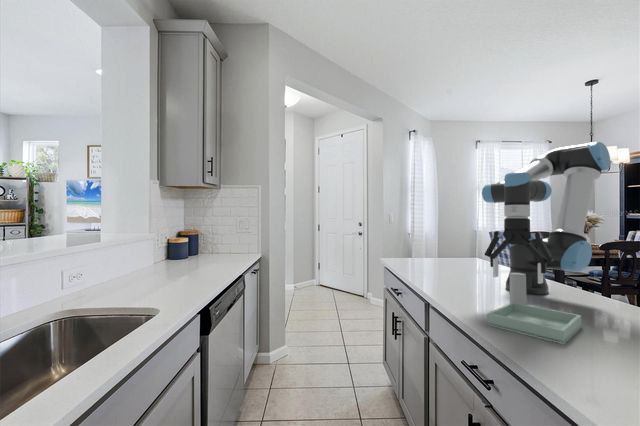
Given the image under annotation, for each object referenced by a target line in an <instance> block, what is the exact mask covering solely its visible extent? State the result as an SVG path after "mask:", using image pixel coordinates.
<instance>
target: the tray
mask: <svg viewBox="0 0 640 426" xmlns="http://www.w3.org/2000/svg"><path fill="white" fill-rule="evenodd" d="M487 325H488V326H490V327H494V328H497V329H501V330H506V331H510V332H514V333H518V334H521V335H526V336H528V337H529V336H530V337H532V338H536V339H541V340H545V341H549V342H552V341H553V342H552V343H556V342H557V344H560V345H565V344H566V343H567V342H569V341H570V339H571V338H572V337H573V336H574V335H575V334H576V333H578V331H579V330H580V329H581V328H582V315H580V314H575V313H571V312H565V311H560V310H554V309H550V308H544V307H539V306H536V305H535V306H534V305H533V306H532V305H528V304H526V305H524V304H519V303H514V302H510V301H509V302H508V303H506V304H504V305H502V306H500V307H499V308H498V307H497V308H496V309H494V310H492V311H490V312H489V313H487Z"/></svg>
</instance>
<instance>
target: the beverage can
mask: <svg viewBox="0 0 640 426" xmlns="http://www.w3.org/2000/svg"><path fill="white" fill-rule="evenodd" d="M509 273H510V272H509ZM525 275H526V274H524V273H510V290H509V303H510V302H514V303H519V304H524V305H527V294H526V276H525Z"/></svg>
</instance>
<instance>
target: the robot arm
mask: <svg viewBox="0 0 640 426" xmlns="http://www.w3.org/2000/svg"><path fill="white" fill-rule="evenodd" d="M610 166H611V156H610V153H609V150H608V148H607V146H606V145H605V143H603V142H601V141H592V142H586V143H581V144H575V145H570V146H569V145H568V146H564V147H558V148H555V149H552V150H551V149H550V150H549V151H547V152H545V153H543V154H540V155H539V156H536V157H535V158H534V159H532V160H530V162H529V164H527V165H526V166H525V167H522V168H521V169H519V170H517V171H515V172H508V173H506V174H505V175H504V179H502V180H500V181H498V182H496V183H489V184H485V185H484V186H483V188H482V190H481V196H482V200H483V201H484V202H486V203H489V204H490V203H491V204H492V203H493V204H496V203H497V204H498V203H500V204H501V203H504V204H503V206H504V207H503V208H504V210H503V212H504V215H503V216H504V221H503V223H504V224H503V227H504V229H503V230H504V231H500V230H495V231H494V233H493V237H492V240H491V241H490V243H489V245H488V247H487V249H486V251H485V253H484V256H486V257H488V258H489V259H490V260H489V261H490V267H491V268H492V277H493V278H499V258H497V257H498V256H499V254H501V253H502V251H504V250H505V249H506V248H507V246H509V247H508V248H509V270H510V271H509V273H508V276H507V278H506V282H505V289H506V290H508V291H510V273H524V274H526V275H525V276H526V295H528V294H529V295H546V294H547V295H548V293H549V284H548V282H547V279H546V277H545V275H544V274H547V272H548V269H550V270H551V269H552V270H559V271H564V272H573V273H575V272H578V273H579V272H582V271H584V270H585V269H586V268H587V267H588V266H589V265H590V262H591V259H592V257H593V253H592V250H593V249H592V245H591V243H589V242H588V238H587V237H586V236H585V235H584V230H585V226H586V220H587V216H588V213H589V207H590V202H591V198H592V194H593V189H594V188H593V187H594V184H595V180H598V179H599V178H601V175H602V171H604V172H605V171H607V170H609V169H610ZM560 175H564V177H565V178H566V182H565V187H564V189H563V190H564V191H563V195H562V198H561V204H560V207H559V212H558V216H557V219H556V223H555V224H556V225H555V229H553V230H552V231H550V232H549V234H548V238H544V237H543V235H542V232H540V231H539V232H532V233H531V219H530V217H531V202H534V203H537V202H544V201H546V200H548V198H549V199H550V197H551V195H552V187H551V185H550V184H549V183H548V182H546V181H543V180H542V179H546V178H548V177H551V176H552V177H553V176H560ZM502 237H504V240H503V241H502V242H501V244H499V246H498V247H497V248H496V246H497V245H498V243H499V241H500V238H502ZM495 248H496V249H495Z"/></svg>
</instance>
